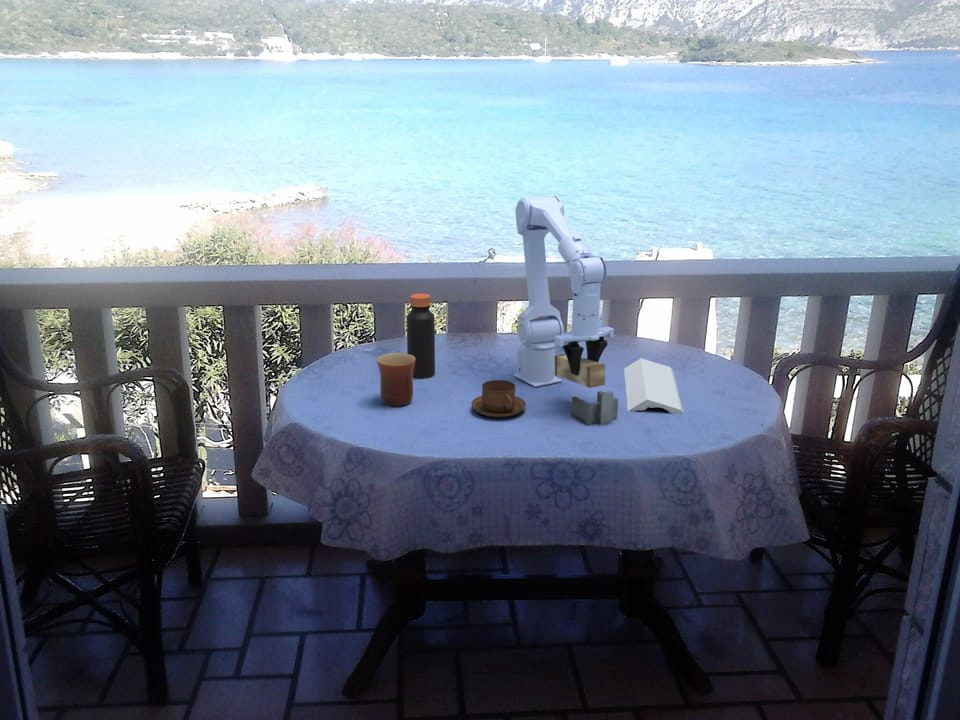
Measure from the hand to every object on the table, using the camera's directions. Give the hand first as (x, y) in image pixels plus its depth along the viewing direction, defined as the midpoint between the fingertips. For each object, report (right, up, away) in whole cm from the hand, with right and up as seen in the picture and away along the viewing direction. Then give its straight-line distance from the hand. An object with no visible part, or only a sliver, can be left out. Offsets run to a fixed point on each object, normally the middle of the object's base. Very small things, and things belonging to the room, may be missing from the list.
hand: (583, 372), depth 195 cm
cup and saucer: (-19, -9, +2) cm, 21 cm away
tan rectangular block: (-1, -2, +2) cm, 2 cm away
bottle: (-37, -1, +25) cm, 45 cm away
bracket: (+3, -10, -1) cm, 10 cm away
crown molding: (+18, -5, +16) cm, 25 cm away
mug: (-41, -6, +8) cm, 42 cm away
